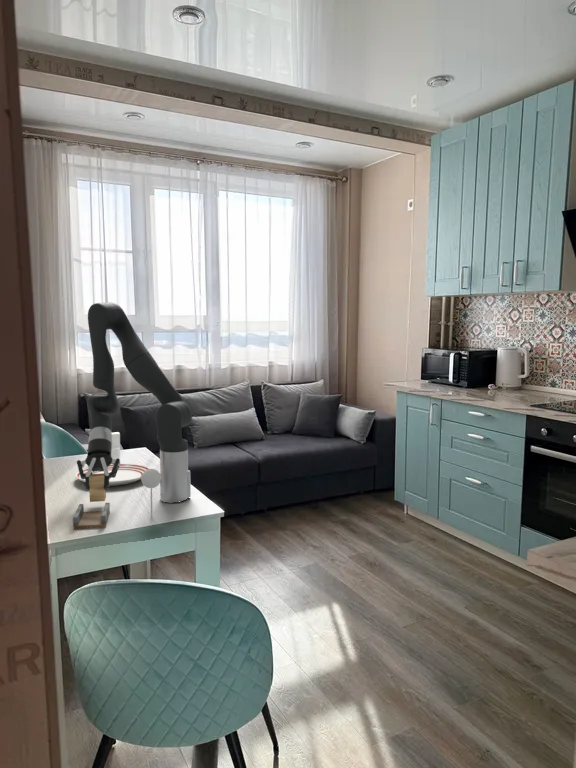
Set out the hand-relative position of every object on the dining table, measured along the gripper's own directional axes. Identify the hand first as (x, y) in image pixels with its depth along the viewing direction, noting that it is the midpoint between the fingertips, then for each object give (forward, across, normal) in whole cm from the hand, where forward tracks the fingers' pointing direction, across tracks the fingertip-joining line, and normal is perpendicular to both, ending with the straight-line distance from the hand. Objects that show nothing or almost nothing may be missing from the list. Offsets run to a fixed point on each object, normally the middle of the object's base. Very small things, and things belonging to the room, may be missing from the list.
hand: (96, 488), depth 177 cm
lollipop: (+12, +17, -2) cm, 21 cm away
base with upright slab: (-38, -2, +48) cm, 61 cm away
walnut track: (+13, 0, -3) cm, 13 cm away
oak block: (+2, 0, +4) cm, 5 cm away
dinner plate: (-19, +2, +29) cm, 34 cm away
